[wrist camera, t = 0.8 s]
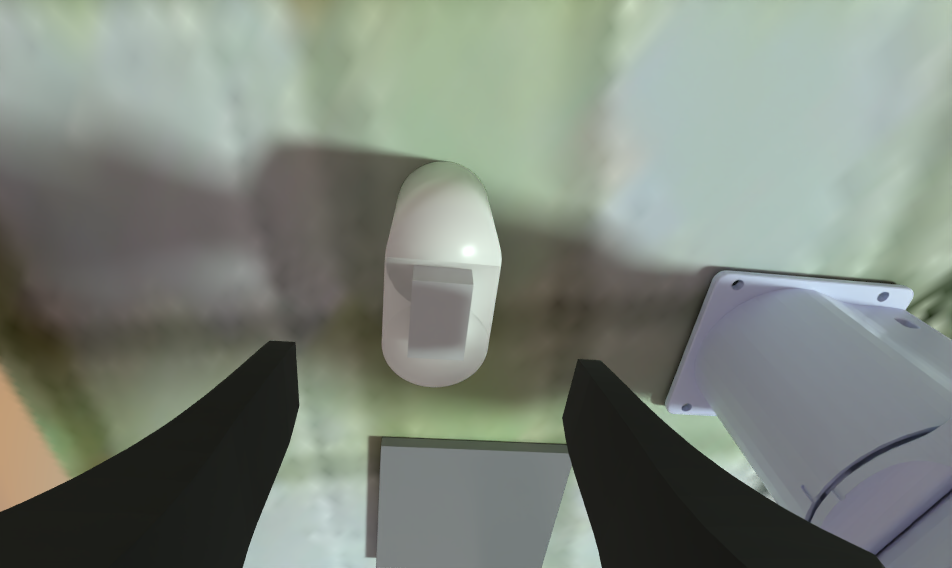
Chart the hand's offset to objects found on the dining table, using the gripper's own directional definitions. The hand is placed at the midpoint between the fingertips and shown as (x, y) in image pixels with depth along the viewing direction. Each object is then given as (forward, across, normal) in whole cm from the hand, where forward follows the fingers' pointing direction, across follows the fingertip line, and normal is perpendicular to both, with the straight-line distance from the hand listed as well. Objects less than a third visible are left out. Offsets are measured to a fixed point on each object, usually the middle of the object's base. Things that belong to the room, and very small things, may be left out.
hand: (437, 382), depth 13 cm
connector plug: (+9, 0, 0) cm, 9 cm away
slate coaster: (+9, -3, +16) cm, 19 cm away
